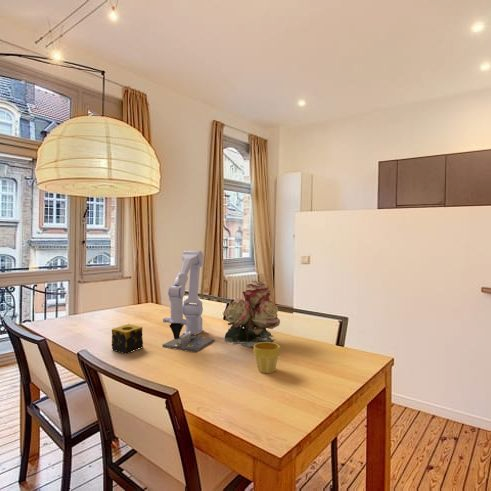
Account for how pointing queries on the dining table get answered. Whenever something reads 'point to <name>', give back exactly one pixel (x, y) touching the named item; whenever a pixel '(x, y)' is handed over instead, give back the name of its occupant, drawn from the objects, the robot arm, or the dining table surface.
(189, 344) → the plate
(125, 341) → the candle
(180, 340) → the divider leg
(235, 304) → the rose bouquet
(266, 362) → the plant pot
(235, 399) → the dining table surface
